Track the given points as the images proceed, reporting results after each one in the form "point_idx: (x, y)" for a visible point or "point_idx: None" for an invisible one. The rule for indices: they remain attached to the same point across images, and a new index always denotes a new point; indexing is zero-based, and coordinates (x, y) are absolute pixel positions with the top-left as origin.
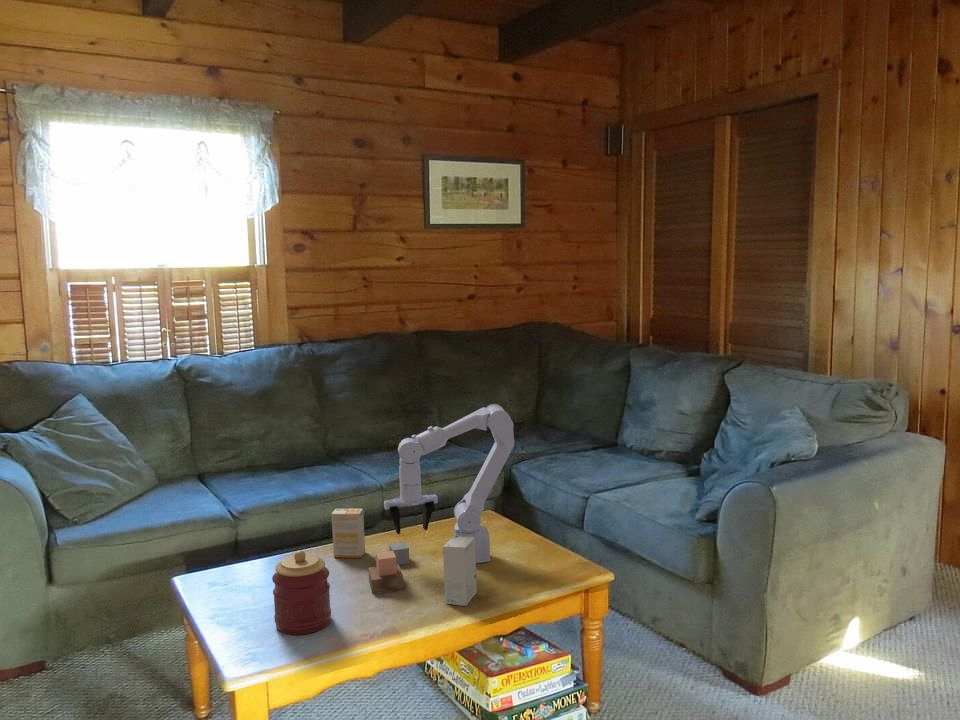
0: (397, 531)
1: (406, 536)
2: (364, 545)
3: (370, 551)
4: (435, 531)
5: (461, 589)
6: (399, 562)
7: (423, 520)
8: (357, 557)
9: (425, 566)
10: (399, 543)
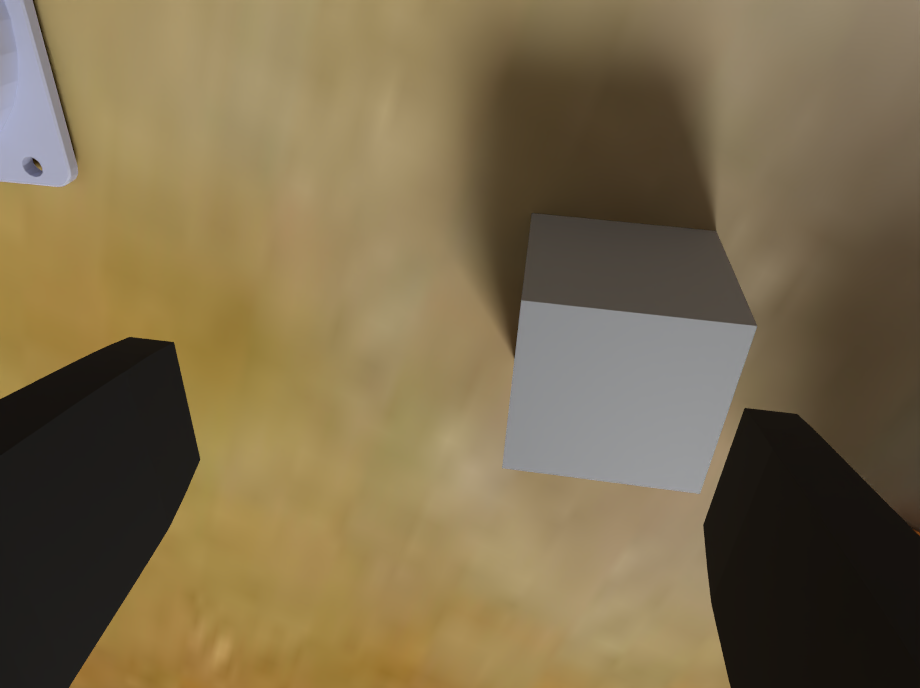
0: (834, 461)
1: (374, 653)
2: None
3: None
4: (165, 630)
5: None
6: (648, 234)
7: (100, 577)
8: (917, 532)
9: (392, 37)
10: (573, 468)
